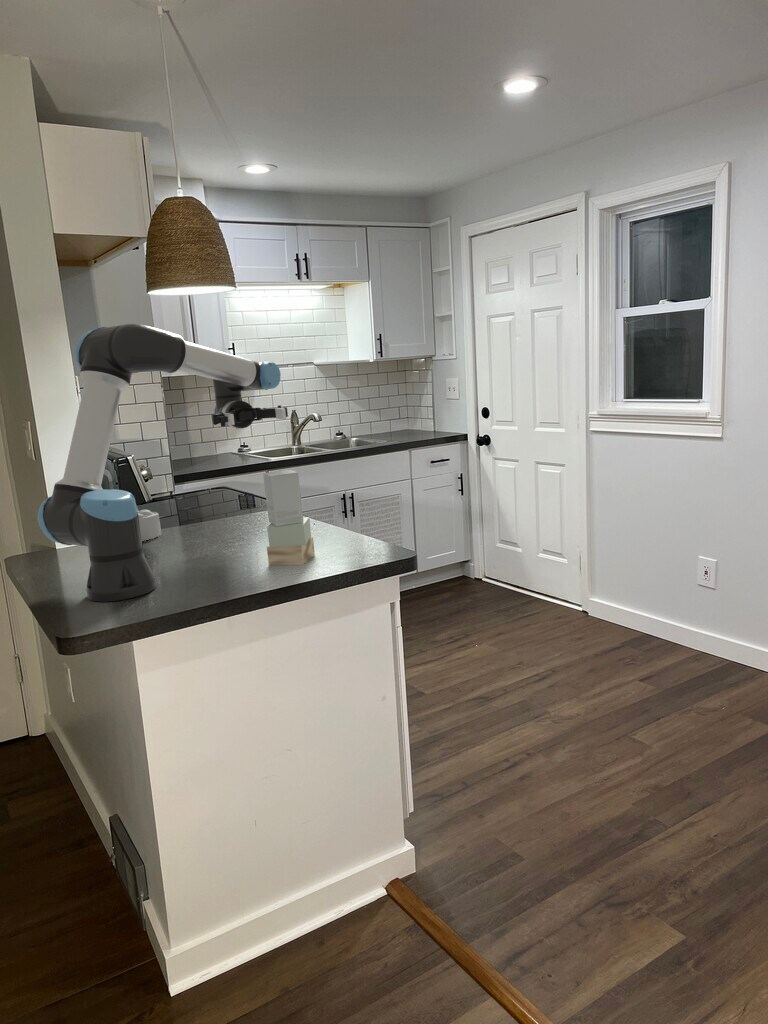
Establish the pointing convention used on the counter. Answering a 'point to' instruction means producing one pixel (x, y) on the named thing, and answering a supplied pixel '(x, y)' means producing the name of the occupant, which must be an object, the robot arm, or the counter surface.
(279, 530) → the block top
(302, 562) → the block bottom
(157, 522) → the white bumpy block
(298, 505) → the supplement box
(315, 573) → the counter surface
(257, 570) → the counter surface
